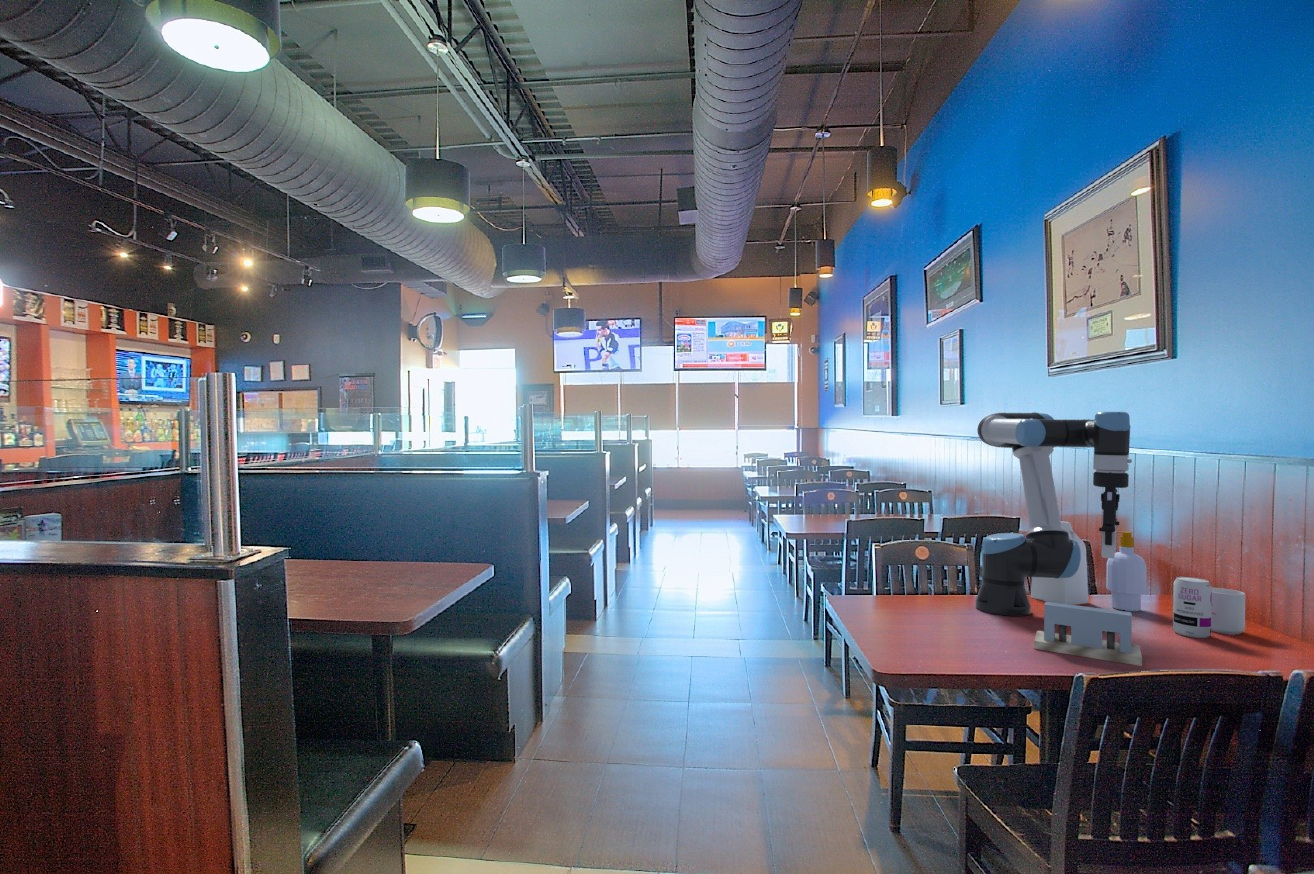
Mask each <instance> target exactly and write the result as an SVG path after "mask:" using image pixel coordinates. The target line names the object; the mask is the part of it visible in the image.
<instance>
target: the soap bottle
mask: <svg viewBox="0 0 1314 874" xmlns="http://www.w3.org/2000/svg"><path fill="white" fill-rule="evenodd" d="M1116 534H1121V536H1120V535H1119V552H1118V551H1116V552H1115V559H1112V558H1107V561H1106V581H1105V585H1106V587H1105V588H1106V590H1107V591H1110V592H1111V594H1110V595H1111V596H1110V599H1111V600H1110V601H1111V603H1110V605H1111V607H1112V608H1113V609H1114V610H1118V611H1123V610H1125V612H1139V611H1141V610H1142V609H1141V607H1142V595H1145V594H1147V580H1148V579H1147V577H1148V576H1147V573H1148V572H1147V571H1148V569H1147V568H1148V567H1147V564H1146V561H1145V560H1144V557H1142V556H1140V555H1138V554H1136V553H1134V552H1135V551H1134V550H1135V548H1134V546H1135V544H1134V543H1135V542H1134V540H1135V537H1132V532H1131V531H1118V530H1116Z"/></svg>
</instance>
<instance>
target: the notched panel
mask: <svg viewBox="0 0 1314 874" xmlns="http://www.w3.org/2000/svg"><path fill="white" fill-rule="evenodd" d="M1044 602H1045V603H1044V608H1043V609H1044V611H1043V612H1044V613H1043V614H1044V616H1043V618H1044V621H1043V623H1044V624H1043V631H1044V640H1046V641H1052V642H1054V640H1055V633H1056V625H1058V626H1059V625H1066V626H1067V627H1070V635H1071V644H1072V645H1078V646H1085V647H1091V648H1098V649H1102V640H1103V632H1107V631H1109V632H1115V634H1116V633H1117V634H1119V643H1120V652H1124V653H1130V654H1131V644H1132V639H1133V638H1132V635H1133V633H1132V630H1133V629H1132V627H1133V626H1132V625H1133V616H1132V611H1123V610H1118V609H1107V608H1098V607H1092V606H1085V605H1084V606H1083V605H1078V604H1076V605H1070V604H1062V603H1054V602H1047V601H1044Z"/></svg>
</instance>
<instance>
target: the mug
mask: <svg viewBox="0 0 1314 874" xmlns="http://www.w3.org/2000/svg"><path fill="white" fill-rule="evenodd" d="M1245 630H1246V593H1245V592H1243V591H1240V590H1235V589H1231V588H1230V589H1229V588H1222V587H1212V600H1211V632H1214V633H1219V634H1223V635H1232V636H1234V635H1236V634H1238V635H1241V634H1243V633H1244V631H1245ZM1240 633H1241V634H1240ZM1236 636H1237V635H1236Z"/></svg>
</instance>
